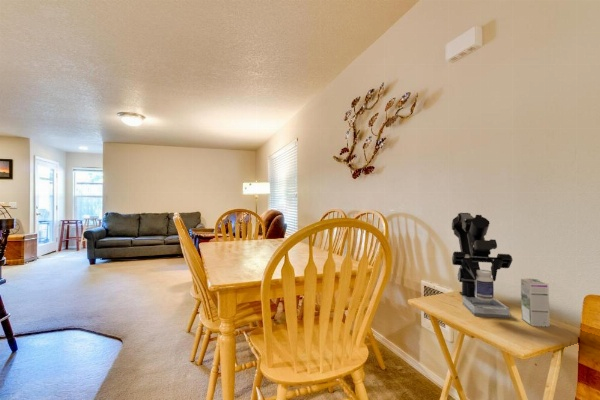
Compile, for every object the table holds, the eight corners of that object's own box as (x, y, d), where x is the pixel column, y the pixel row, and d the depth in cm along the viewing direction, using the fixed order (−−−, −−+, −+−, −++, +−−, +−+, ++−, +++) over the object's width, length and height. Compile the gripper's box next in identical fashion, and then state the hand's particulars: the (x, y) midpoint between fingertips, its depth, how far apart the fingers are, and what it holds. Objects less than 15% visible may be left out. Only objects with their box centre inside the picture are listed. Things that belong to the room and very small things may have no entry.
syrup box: (550, 327, 94) (550, 283, 94) (530, 326, 95) (529, 282, 95) (539, 320, 99) (539, 278, 99) (520, 319, 100) (520, 278, 101)
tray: (462, 304, 115) (462, 295, 115) (493, 306, 113) (493, 297, 113) (474, 315, 104) (474, 306, 104) (509, 318, 101) (509, 308, 101)
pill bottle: (497, 300, 100) (497, 272, 100) (481, 301, 100) (481, 273, 100) (485, 295, 106) (485, 268, 106) (471, 295, 106) (471, 269, 105)
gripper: (453, 230, 109) (458, 265, 99) (510, 232, 103) (522, 270, 93) (449, 247, 117) (454, 281, 107) (503, 249, 111) (514, 286, 100)
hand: (485, 279), depth 101 cm, fingers closed on pill bottle, 5 cm apart
